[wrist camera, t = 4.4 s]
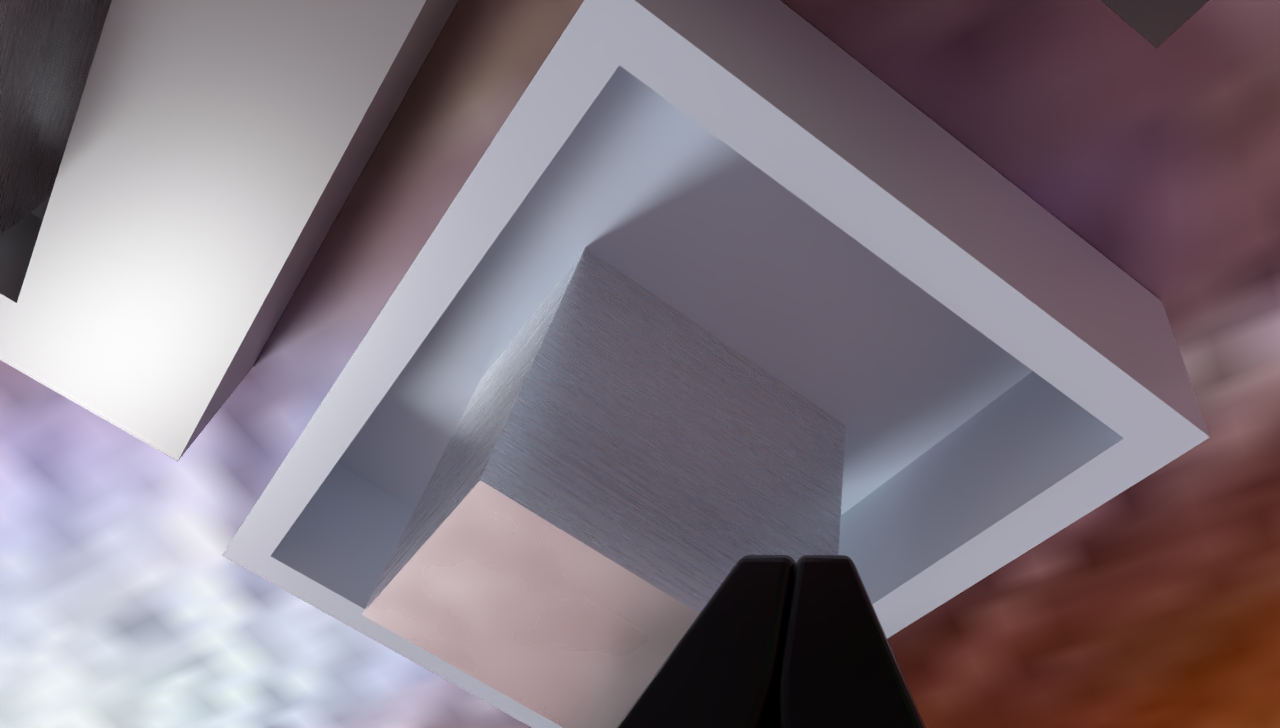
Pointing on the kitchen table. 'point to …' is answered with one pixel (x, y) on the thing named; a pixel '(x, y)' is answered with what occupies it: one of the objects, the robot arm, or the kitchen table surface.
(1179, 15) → the housing
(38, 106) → the block
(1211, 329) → the kitchen table surface
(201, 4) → the pallet
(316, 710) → the kitchen table surface
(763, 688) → the robot arm
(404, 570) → the block
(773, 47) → the tote
